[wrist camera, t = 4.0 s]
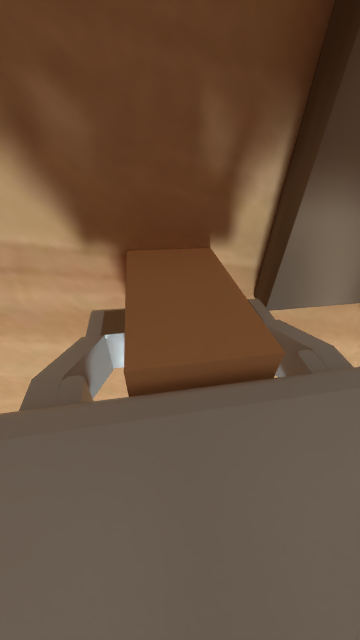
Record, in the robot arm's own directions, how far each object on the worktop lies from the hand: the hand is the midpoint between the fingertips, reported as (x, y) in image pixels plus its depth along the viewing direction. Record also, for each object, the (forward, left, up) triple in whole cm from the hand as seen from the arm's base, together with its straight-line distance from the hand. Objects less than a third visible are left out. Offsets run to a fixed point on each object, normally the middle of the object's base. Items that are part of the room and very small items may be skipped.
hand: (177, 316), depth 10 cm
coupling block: (0, 0, -3) cm, 3 cm away
